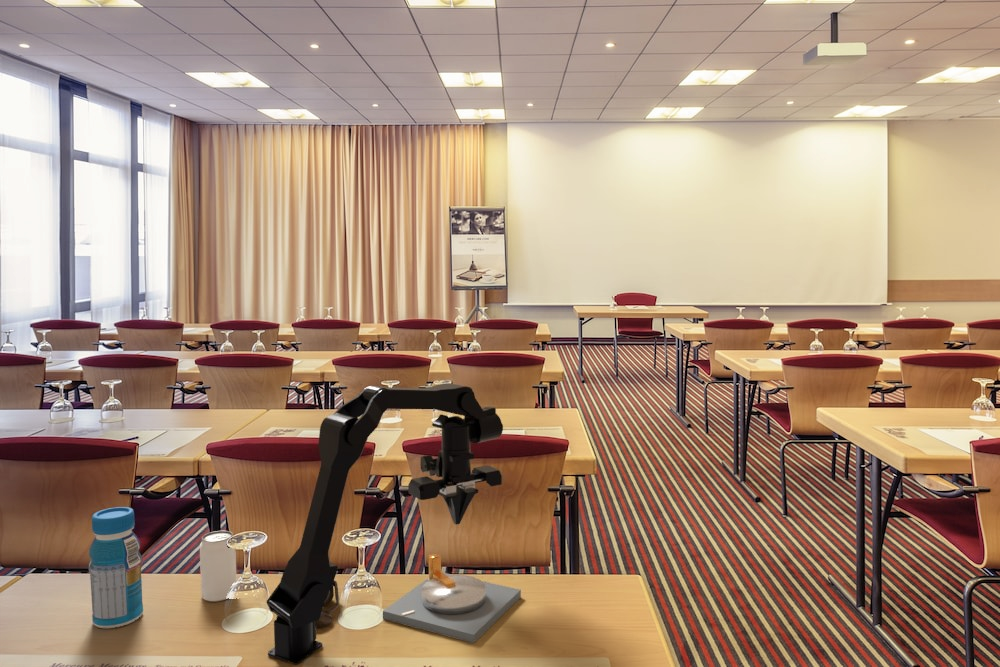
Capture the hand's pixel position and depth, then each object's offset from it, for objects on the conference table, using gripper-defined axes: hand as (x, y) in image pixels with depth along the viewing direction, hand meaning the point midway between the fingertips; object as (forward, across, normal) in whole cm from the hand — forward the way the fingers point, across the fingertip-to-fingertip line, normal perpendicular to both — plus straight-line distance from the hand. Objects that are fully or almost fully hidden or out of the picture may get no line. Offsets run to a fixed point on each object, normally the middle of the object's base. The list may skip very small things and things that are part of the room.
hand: (456, 523), depth 139 cm
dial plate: (+13, +5, +8) cm, 16 cm away
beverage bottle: (+13, +58, -23) cm, 64 cm away
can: (+13, +41, -22) cm, 49 cm away
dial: (+11, +5, +6) cm, 14 cm away
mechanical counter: (+13, +28, -5) cm, 31 cm away
